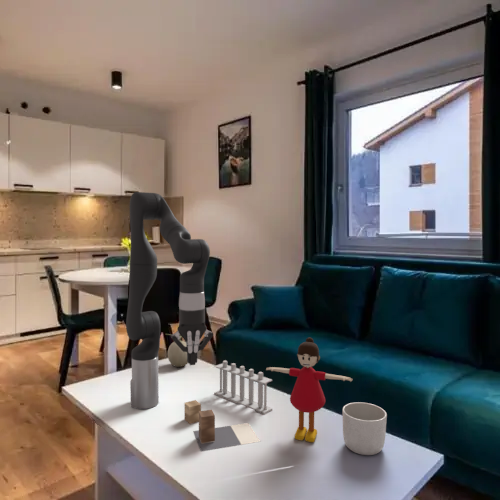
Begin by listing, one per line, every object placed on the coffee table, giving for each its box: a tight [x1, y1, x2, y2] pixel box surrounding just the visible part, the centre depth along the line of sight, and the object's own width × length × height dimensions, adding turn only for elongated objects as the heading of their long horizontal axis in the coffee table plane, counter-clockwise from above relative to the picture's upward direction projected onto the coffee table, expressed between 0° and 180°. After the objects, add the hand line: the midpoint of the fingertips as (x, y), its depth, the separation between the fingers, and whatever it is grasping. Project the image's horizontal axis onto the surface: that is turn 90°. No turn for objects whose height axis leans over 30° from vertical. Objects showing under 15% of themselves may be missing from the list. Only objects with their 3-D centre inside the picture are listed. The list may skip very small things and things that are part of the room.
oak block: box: [184, 399, 202, 425], centre depth 138 cm, size 4×4×6 cm
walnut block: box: [198, 409, 216, 444], centre depth 126 cm, size 4×4×8 cm
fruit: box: [165, 333, 189, 368], centre depth 191 cm, size 10×12×15 cm
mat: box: [193, 422, 261, 452], centre depth 128 cm, size 18×12×1 cm, turn 108°
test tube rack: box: [213, 360, 273, 415], centre depth 153 cm, size 25×4×13 cm, turn 48°
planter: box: [342, 401, 388, 456], centre depth 122 cm, size 12×12×11 cm
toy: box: [265, 336, 353, 443], centre depth 129 cm, size 27×11×30 cm, turn 70°
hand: (192, 364), depth 125 cm, fingers closed
